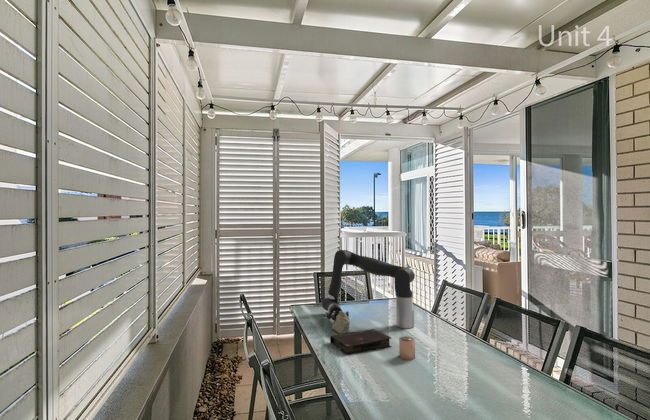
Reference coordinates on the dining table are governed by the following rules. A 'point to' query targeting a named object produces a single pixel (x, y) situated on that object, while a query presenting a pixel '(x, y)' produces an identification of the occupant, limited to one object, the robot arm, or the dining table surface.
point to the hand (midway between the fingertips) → (340, 318)
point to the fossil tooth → (341, 323)
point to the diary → (360, 341)
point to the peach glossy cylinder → (407, 348)
